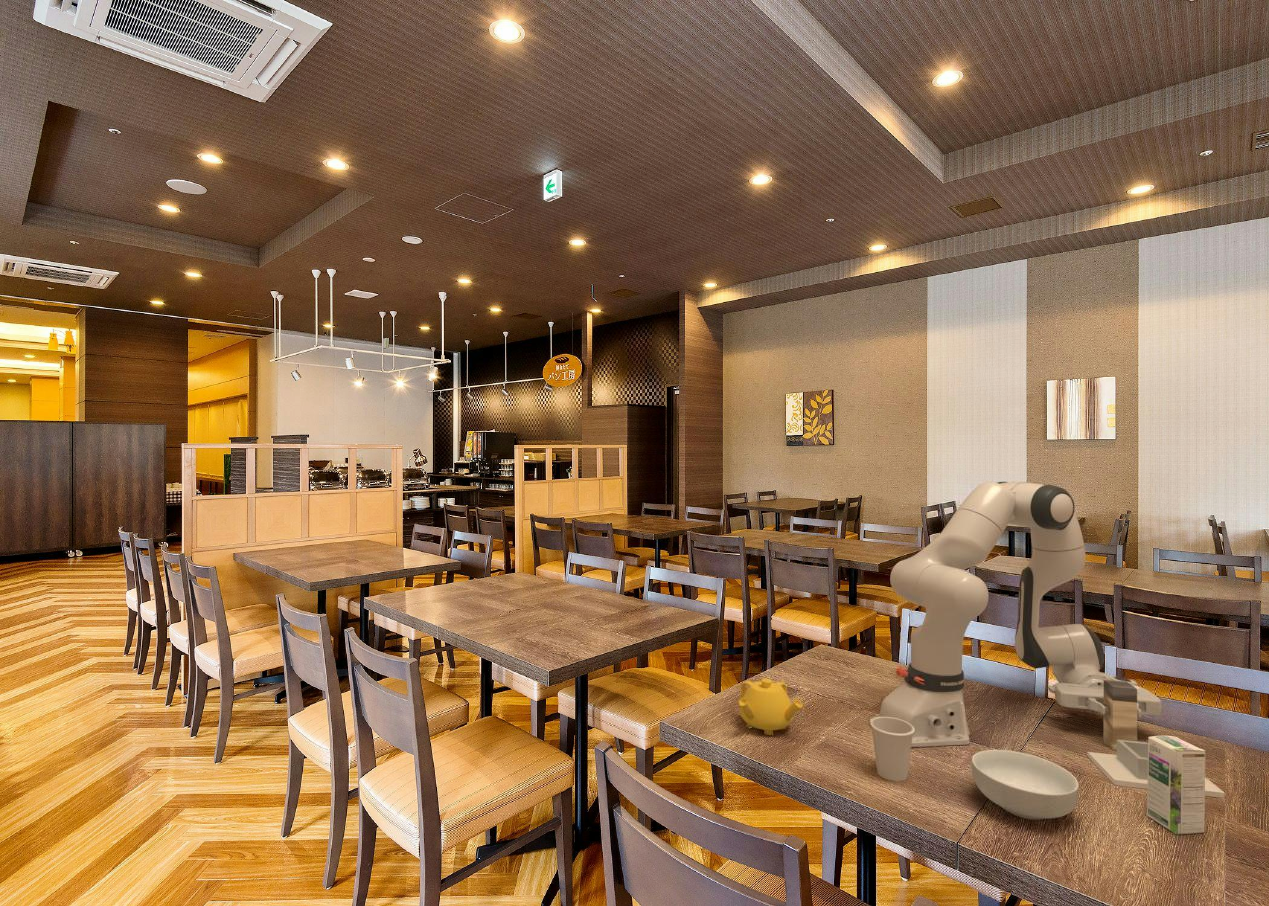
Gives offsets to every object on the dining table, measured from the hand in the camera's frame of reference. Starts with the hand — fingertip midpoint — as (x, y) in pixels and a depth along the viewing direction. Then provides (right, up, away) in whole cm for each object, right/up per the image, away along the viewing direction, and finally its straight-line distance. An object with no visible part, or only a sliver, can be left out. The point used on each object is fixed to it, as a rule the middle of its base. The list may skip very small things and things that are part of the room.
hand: (1122, 712), depth 138 cm
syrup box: (-13, -8, -28) cm, 32 cm away
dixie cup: (-56, -8, -11) cm, 57 cm away
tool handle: (0, -8, +1) cm, 8 cm away
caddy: (-3, -8, -12) cm, 15 cm away
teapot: (-77, -8, +9) cm, 78 cm away
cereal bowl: (-36, -8, -23) cm, 44 cm away
